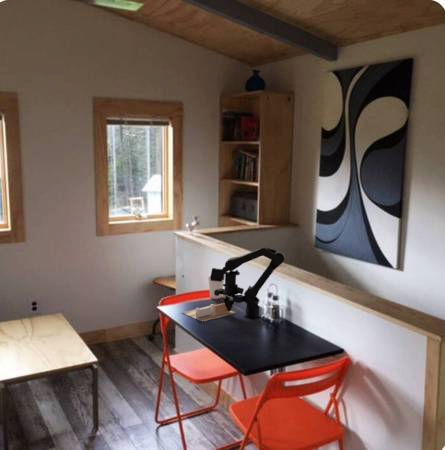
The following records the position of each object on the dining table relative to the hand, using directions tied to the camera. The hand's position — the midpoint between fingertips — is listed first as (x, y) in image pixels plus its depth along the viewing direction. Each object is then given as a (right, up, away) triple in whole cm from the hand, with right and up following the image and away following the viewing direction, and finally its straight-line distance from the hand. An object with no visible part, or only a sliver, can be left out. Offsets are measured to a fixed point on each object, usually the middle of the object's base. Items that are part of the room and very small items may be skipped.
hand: (229, 311), depth 277 cm
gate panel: (-4, -1, +3) cm, 5 cm away
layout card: (-11, -1, +1) cm, 11 cm away
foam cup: (-8, +3, +31) cm, 32 cm away
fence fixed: (-13, -2, -4) cm, 14 cm away
